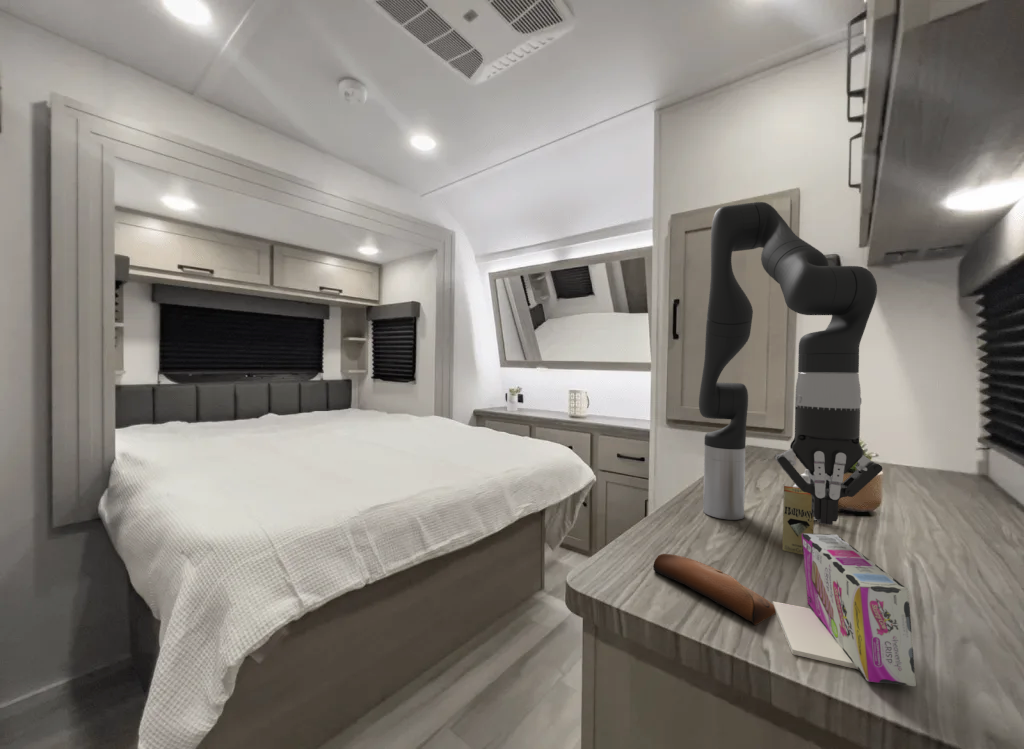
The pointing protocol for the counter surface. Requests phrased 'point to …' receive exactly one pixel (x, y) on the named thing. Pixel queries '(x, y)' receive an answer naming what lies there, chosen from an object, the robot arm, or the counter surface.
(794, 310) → the robot arm
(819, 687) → the counter surface
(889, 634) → the candy bar box
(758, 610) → the sunglasses case
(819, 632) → the board
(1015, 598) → the counter surface
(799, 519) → the shoe polish box
